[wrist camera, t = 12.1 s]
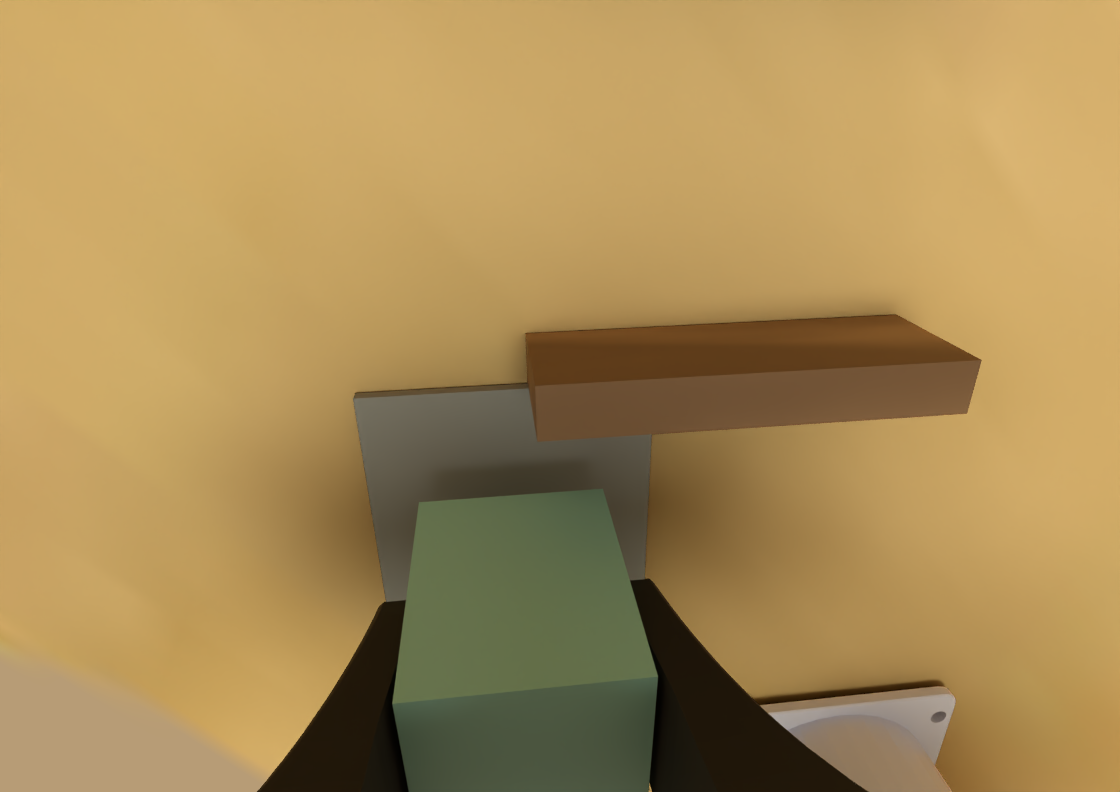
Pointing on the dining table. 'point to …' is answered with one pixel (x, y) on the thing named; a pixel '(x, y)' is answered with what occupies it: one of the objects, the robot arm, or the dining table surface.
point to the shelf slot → (741, 376)
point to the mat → (485, 465)
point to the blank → (523, 650)
